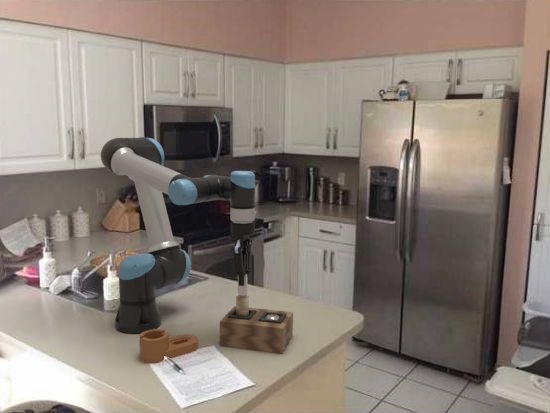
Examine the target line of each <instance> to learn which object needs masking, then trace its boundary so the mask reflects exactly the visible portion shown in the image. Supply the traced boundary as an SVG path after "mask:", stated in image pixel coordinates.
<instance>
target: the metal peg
mask: <svg viewBox="0 0 550 413" xmlns="http://www.w3.org/2000/svg"><path fill="white" fill-rule="evenodd" d="M266 319H271V320H279V316H278V315H275V314H270V315H267V316H266Z"/></svg>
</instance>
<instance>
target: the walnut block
mask: <svg viewBox="0 0 550 413" xmlns="http://www.w3.org/2000/svg"><path fill="white" fill-rule="evenodd" d="M270 314H275V315H278V316H279V320H271V319H266V316H267V315H270ZM293 330H294V312H293V311H287V310H286V311H285V310H275V309H268V308H267V309H266V308H265V309H264V308H257V307H249V316H248V317H244V316H236V305H234V306H233V307H232V308H231V309H230V310H229V311H228V312H227V313H226V314H225V316H223V317H222V318H221V319H220V320H219V347H225V348H226V347H227V348H234V349H243V350H250V351H257V352H266V353H274V354H282V355H283V354H284V352H285V351H286V348H287V347H288V345H289V342H290V341H291V339H292V337H293V335H294V334H293Z"/></svg>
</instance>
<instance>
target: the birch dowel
mask: <svg viewBox="0 0 550 413" xmlns="http://www.w3.org/2000/svg"><path fill="white" fill-rule="evenodd" d="M249 305H250V298H249V295H248V294H247V295H246V296H244V295H238V294H237V295H236V297H235V306H236V316H244V317H248V316H249V308H250V306H249Z"/></svg>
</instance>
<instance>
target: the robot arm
mask: <svg viewBox="0 0 550 413" xmlns="http://www.w3.org/2000/svg"><path fill="white" fill-rule="evenodd" d="M100 161H101V163H102V165H103V166H104V167H105V168H106V170H108V171H109V172H111V173H112V174H115V175H117V176H127V177H128V179H130V180H131V181H133V182H134V186H135V190H136V194H137V199H138V203H139V206H140V210H141V214H142V215H141V216H142V220H143V223H144V227H145V230H146V235H147V240H148V244H149V248H148V250H147V251H146V253H145V252H144V253H138V254H137V253H136V254H131V255H128V256H126V257H124V258H123V259H121V260H120V262H119V263H118V264H119V265H118V285H119V286H118V287H119V306H118V309H117V312H116V316H115V319H114V328H115V329H116V330H117V331H119V332H122V333H126V334H127V333H128V334H139V333H140V334H141V333H142V332H144V331H147V330H152V329H158V327H160V326H161V324H162V315H161V313H160V310H159V307H158V304H157V302H156V291H158V290H160V289H164V288H167V287H170V286H172V285H173V286H174V285H177V284H179V283H182V282H183V281H185V280H186V279H187V278H188V277H189V275H190V272H191V270H192V269H191V267H192V261H191V259H190V255H189V254H188V253H187V252H186V250H184V249H181V246H180V243H178V242H177V241H175V239H174V236H173V232H172V227H171V223H170V218H169V215H168V212H167V211H168V210H167V206H166V203H165V199H164V195H163V193H164V194H166V195H168V198H169V200H170V201H171V203H173V204H174V205H177V206H188V205H192V204H197V203H198V204H200V203H204V202H211V201H218V200H219V201H228V202H230V213H229V214H230V221H231V222H230V234H232V235H233V236H235V240H234V246H232V248H231V249H232V254H233V263H234V275H235V276H237V296H238V295H244V296H246V295H247V296H248V275H251V271H250V268H251V259H252V258H251V255H252V246H253V239H250V238H251V236H252V235H254V234H255V232H256V222H255V217H256V214H257V210H256V207H255V206H256V204H255V202H256V188H257V187H256V175H255V173H254V172H253V171H249V170H234V171H231V173H230V176H225V175H224V176H223V175H217V174H209V175H208V174H207V175H204V176H201V177H190V176H188V175H184V174H182V173H180V172H178V171H176V170H174V169H171V168H169V167H166V166H163V165H164V161H165V152H164V148H163V147H162V145H161V144H160V142H158V141H157V140H156V139H155V138H150V137H144V136H143V137H142V136H141V137H116V138H111V139H110V140H108V141H107V142H105V143H104V145H103V146H102V147H101V151H100Z"/></svg>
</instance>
